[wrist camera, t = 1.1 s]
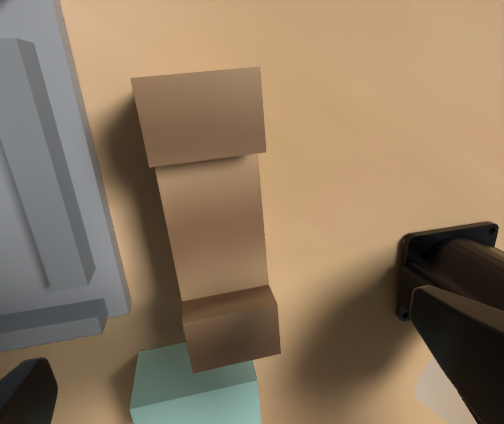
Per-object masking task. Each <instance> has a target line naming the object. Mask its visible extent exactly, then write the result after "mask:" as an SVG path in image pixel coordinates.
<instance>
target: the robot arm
mask: <svg viewBox="0 0 504 424" xmlns="http://www.w3.org/2000/svg"><path fill="white" fill-rule="evenodd" d="M498 228H499V227H498V225H497V224H495V223H492V222H482V223H476V224H469V225H463V226H456V227H450V228H444V229H437V230H431V231H424V232H418V233H412V234H410V235H408V236H407V237H406V239H405V241H404V249H403V257H402V265H401V272H400V280H399V288H398V296H397V305H396V316H397V317H398V318H399V319H400V320H401V321H408V320H411V321H412V323H413V324H414V326H415V328H416V329H417V331H418V332H419V334H420V335H421V337H422V339H423V340H424V342H425V343H426V345H427V347H428V348H429V350H430V351H431V353H432V354H433V356H434V358H435V359H436V361H437V362H438V364H439V365H440V367H441V368H442V370H443V371H444V373H445V374H446V376H447V377H448V378H449V380H450V381H451V383H452V384H453V385H454V387H455V388H456V389H457V391H458V393H459V395H460V396H461V398H462V400H463V401H464V403H465V404H466V406H467V407H468V409H469V411H470V412H471V414H472V415H473V417H474V419H475V420H476V422H477V423H478V424H504V252H503V251H501V250H499V249H497V248H495V247H494V246H495V242H496V238H497V234H498ZM414 240H415V242H414V243H413V241H414ZM412 243H413V244H412ZM57 393H58V387H57V382H56V380H55V377H54V374H53V372H52V369H51V367H50V364H49V362H48V360H47V359H46V358H44V357H40V358H35V359H29V360H25V361H23V362H22V363H20V364H19V365H18V366H17V367H15V368H14V369H13V370H12V371H11V372H9V373H8V374H7V375H6V376H5V377H3V378H2V379H1V380H0V424H51V421H52V417H53V412H54V408H55V403H56V398H57Z"/></svg>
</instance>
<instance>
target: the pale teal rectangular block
mask: <svg viewBox="0 0 504 424" xmlns="http://www.w3.org/2000/svg"><path fill="white" fill-rule="evenodd" d="M129 410H130V413H131V417H132V420H133V423H134V424H261V415H260V404H259V393H258V382H257V377H256V373H255V369H254V365H253V362H252V360H250V361H246V362H242V363H237V364H233V365H229V366H224V367H220V368H216V369H211V370H207V371H203V372H198V373H194V374H193V373H192V368H191V363H190V358H189V354H188V349H187V344H186V342H184V343H179V344H174V345H169V346H164V347H160V348H155V349H150V350H145V351H140V352H138V358H137V365H136V371H135V377H134V383H133V390H132V396H131V402H130V408H129Z"/></svg>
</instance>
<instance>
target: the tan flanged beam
mask: <svg viewBox="0 0 504 424" xmlns="http://www.w3.org/2000/svg"><path fill="white" fill-rule="evenodd" d="M131 83H132V88H133V93H134V97H135V102H136V107H137V111H138V116H139V121H140V126H141V130H142V135H143V140H144V145H145V149H146V154H147V159H148V164H149V168H150V167H155V172H156V176H157V181H158V186H159V191H160V196H161V201H162V206H163V211H164V216H165V220H166V225H167V230H168V235H169V240H170V245H171V250H172V255H173V260H174V264H175V269H176V274H177V279H178V284H179V289H180V294H181V299H182V325H183V330H184V335H185V339H186V344H187V349H188V354H189V358H190V363H191V368H192V373H193V374H194V373H198V372H203V371H207V370H211V369H216V368H220V367H224V366H229V365H233V364H237V363H242V362H246V361H250V360H255V359H259V358H263V357H268V356H272V355H276V354H281V349H280V335H279V321H278V307H277V302H276V300H275V298H274V296H273V293H272V291H271V289H270V287H269V284H268V272H267V260H266V248H265V235H264V223H263V211H262V199H261V187H260V174H259V162H258V153H264V152H266V141H265V127H264V113H263V99H262V86H261V72H260V67H250V68H239V69H228V70H217V71H205V72H194V73H183V74H172V75H160V76H149V77H138V78H131Z"/></svg>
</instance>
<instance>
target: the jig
mask: <svg viewBox="0 0 504 424" xmlns="http://www.w3.org/2000/svg"><path fill="white" fill-rule="evenodd" d="M131 304H132V303H131V298H130V294H129V290H128V286H127V282H126V277H125V273H124V269H123V265H122V261H121V256H120V252H119V248H118V244H117V240H116V235H115V231H114V227H113V223H112V219H111V215H110V210H109V206H108V202H107V198H106V194H105V189H104V185H103V181H102V177H101V173H100V168H99V164H98V160H97V156H96V152H95V147H94V143H93V139H92V135H91V131H90V126H89V122H88V118H87V114H86V110H85V106H84V101H83V97H82V93H81V89H80V85H79V80H78V76H77V72H76V68H75V64H74V59H73V55H72V51H71V47H70V43H69V38H68V34H67V30H66V26H65V22H64V18H63V13H62V9H61V5H60V1H59V0H0V352H4V351H9V350H15V349H20V348H26V347H31V346H37V345H42V344H48V343H53V342H59V341H64V340H70V339H75V338H81V337H86V336H92V335H97V334H102V332H103V329H104V326H105V323H106V320H107V318H111V317H117V316H123V315H128V314H129V312H130V308H131Z"/></svg>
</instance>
